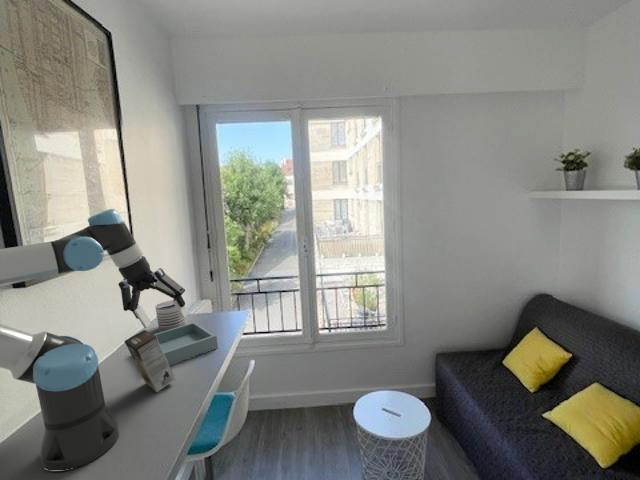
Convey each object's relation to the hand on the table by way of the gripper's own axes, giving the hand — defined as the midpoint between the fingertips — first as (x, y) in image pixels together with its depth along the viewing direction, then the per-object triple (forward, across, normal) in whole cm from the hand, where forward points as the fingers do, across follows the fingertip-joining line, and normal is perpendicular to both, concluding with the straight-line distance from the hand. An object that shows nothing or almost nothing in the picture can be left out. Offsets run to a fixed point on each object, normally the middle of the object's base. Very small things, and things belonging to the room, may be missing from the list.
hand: (166, 320), depth 106 cm
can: (+24, +32, -38) cm, 55 cm away
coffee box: (+17, +8, +7) cm, 20 cm away
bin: (+21, +16, -15) cm, 31 cm away
